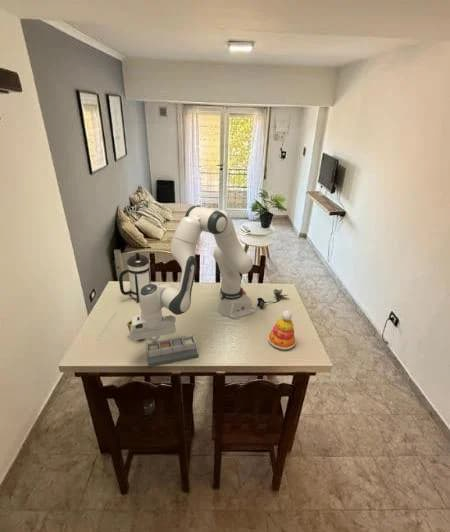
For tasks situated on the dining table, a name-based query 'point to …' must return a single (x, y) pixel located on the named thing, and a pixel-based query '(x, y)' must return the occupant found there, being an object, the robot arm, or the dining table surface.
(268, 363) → the dining table surface
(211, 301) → the dining table surface
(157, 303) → the robot arm
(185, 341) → the key ivory
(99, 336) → the butter knife
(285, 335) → the stacking toy
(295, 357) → the dining table surface
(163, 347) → the key terracotta
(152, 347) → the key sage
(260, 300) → the artificial flower
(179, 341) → the key slate
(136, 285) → the coffee press
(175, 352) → the keypad
